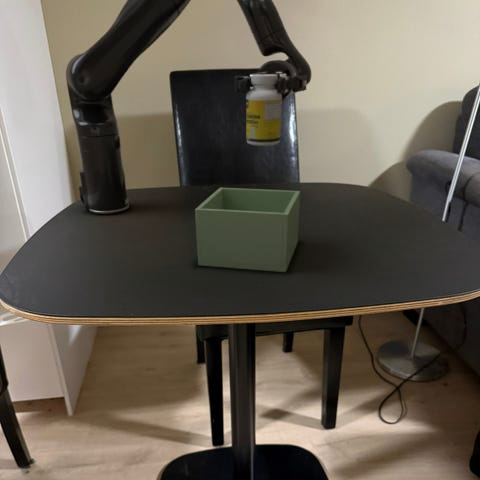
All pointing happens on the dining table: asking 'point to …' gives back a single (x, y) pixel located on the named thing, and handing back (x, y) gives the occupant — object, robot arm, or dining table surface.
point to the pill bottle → (263, 111)
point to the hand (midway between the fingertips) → (261, 85)
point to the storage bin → (248, 229)
